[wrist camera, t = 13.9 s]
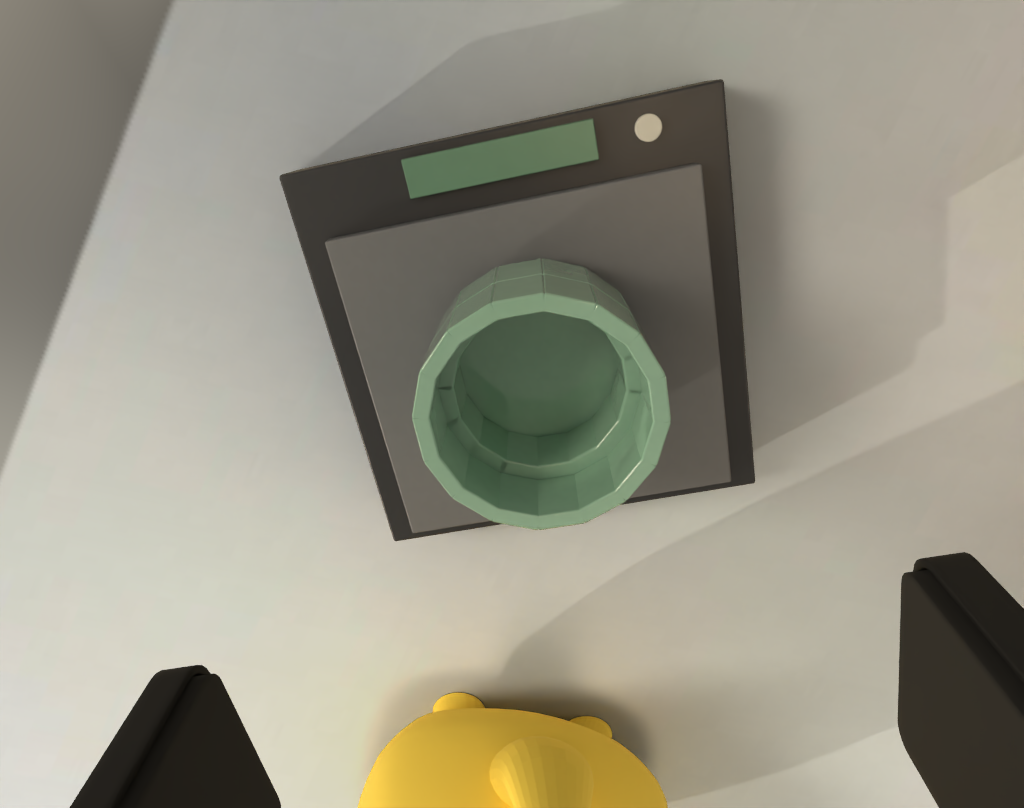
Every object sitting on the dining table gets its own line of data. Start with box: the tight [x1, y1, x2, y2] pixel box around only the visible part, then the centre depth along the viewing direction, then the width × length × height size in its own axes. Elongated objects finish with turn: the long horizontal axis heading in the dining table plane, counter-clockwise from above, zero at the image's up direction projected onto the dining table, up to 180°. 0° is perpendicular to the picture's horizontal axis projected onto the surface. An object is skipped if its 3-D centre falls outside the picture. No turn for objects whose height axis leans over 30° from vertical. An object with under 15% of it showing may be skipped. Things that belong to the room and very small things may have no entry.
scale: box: [280, 79, 755, 541], centre depth 25 cm, size 14×14×3 cm
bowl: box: [412, 258, 671, 530], centre depth 22 cm, size 7×7×5 cm
